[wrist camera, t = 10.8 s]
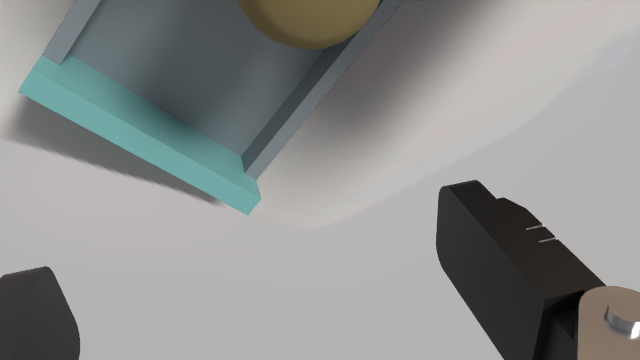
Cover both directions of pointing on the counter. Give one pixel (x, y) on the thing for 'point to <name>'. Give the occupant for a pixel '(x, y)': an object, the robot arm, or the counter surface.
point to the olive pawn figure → (308, 20)
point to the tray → (189, 86)
